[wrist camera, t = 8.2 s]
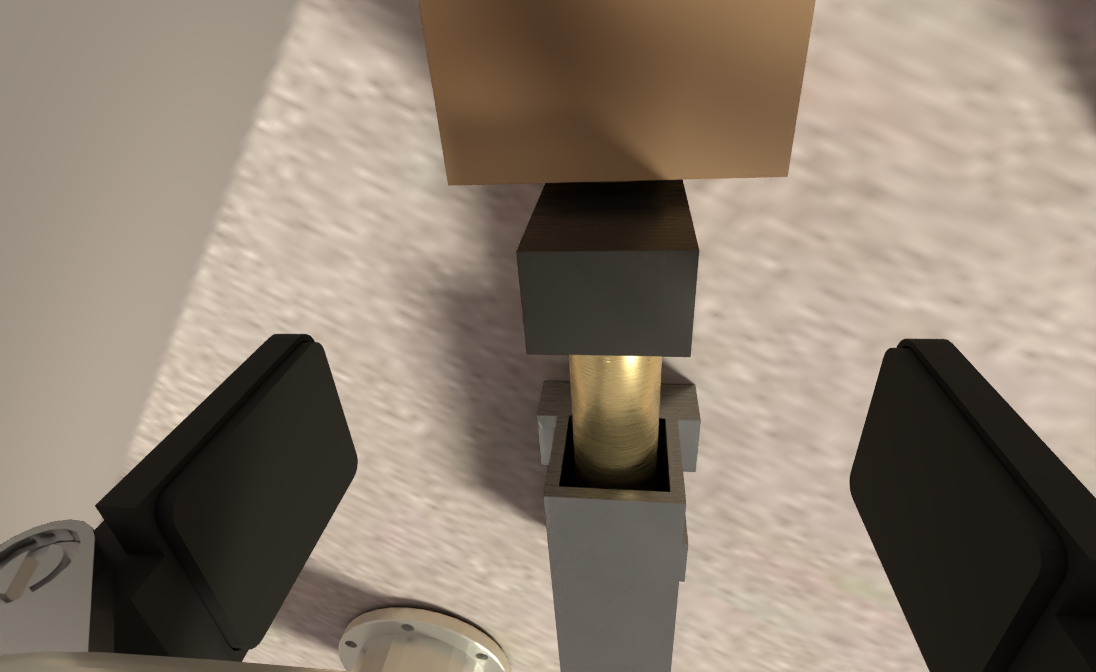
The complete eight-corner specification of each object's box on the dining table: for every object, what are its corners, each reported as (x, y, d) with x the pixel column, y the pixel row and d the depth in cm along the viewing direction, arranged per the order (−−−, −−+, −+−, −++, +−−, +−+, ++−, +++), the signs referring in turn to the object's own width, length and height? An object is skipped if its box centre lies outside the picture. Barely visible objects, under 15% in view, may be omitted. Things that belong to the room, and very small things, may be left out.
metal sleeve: (680, 553, 32) (691, 692, 26) (558, 545, 33) (540, 677, 27) (696, 376, 26) (716, 505, 20) (543, 372, 27) (515, 494, 21)
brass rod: (658, 476, 25) (666, 650, 18) (575, 472, 25) (556, 640, 19) (683, -4, 15) (718, 13, 9) (550, 5, 16) (493, 27, 9)
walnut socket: (735, 107, 20) (787, 176, 13) (508, 116, 21) (448, 185, 14) (751, -50, 17) (825, -65, 11) (493, -29, 18) (413, -31, 12)
